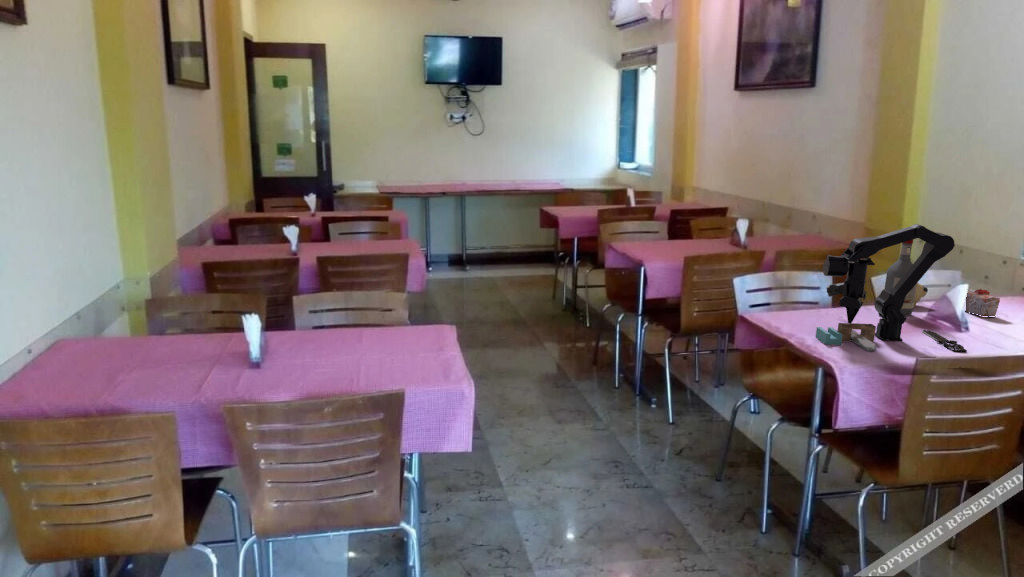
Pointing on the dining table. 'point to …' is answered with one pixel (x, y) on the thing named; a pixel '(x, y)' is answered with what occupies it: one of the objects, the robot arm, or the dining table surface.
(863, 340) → the axle
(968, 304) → the food item
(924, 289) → the tan rounded piece
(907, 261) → the liquor
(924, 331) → the knife
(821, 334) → the cradle
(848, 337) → the wooden bridge block
